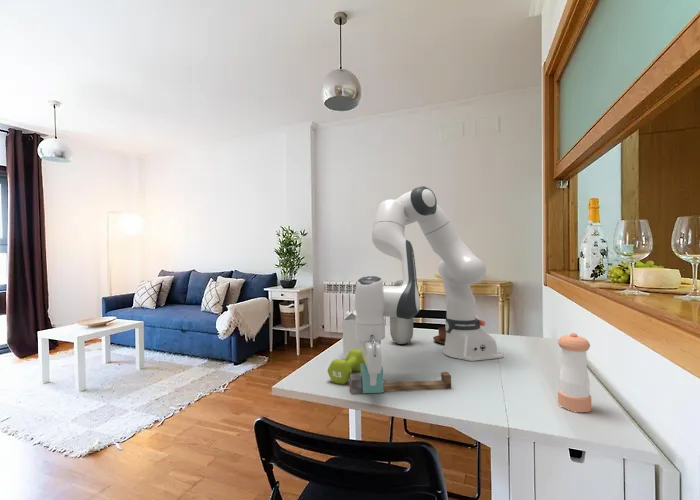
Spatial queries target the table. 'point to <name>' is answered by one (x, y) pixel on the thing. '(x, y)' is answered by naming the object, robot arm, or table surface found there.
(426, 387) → the rail
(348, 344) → the milk carton
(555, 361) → the table surface
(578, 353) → the pepper shaker
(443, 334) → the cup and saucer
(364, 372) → the block
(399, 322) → the glass bottle
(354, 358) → the dumbbell
